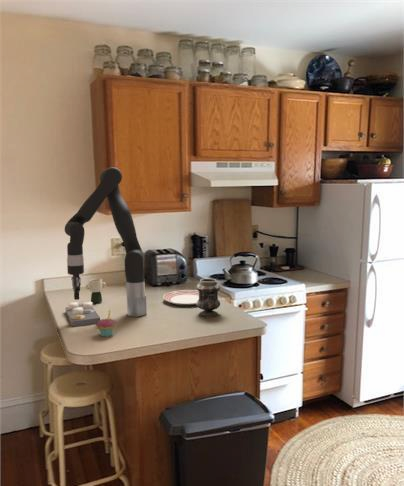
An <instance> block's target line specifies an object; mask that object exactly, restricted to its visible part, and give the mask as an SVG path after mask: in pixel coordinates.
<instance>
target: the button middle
mask: <svg viewBox="0 0 404 486" xmlns="http://www.w3.org/2000/svg"><path fill="white" fill-rule="evenodd" d="M82 305H83V309H91V308H93V309H94V307H93V302H91V301H85V302H82Z"/></svg>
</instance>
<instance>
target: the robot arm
mask: <svg viewBox="0 0 404 486" xmlns="http://www.w3.org/2000/svg"><path fill="white" fill-rule="evenodd" d="M99 180H100V183H99V184H98V186H97V187H96V189H94V191H92V193H91V194H90V195H89V196H88V197H87V199H85V201H84V202H83V204H82V205H81V207H80V208H79V209H78V211H77V212H76V213H75V214H74V215H73V216H71V218H70V219H68V221H67V222H66V224H65V225H64V233H65V235H67V236H69V242H68V243H67V246H66V249H67V250H66V251H67V255H66V256H67V257H66V265H67V268H66V269H67V275H69V276H71V279H70V280H71V285H72V289H73V290H72V292H73V298H74V300H80V291H81V285H82V283H81V281H82V278H81V277H80V275H83V274H84V273H85V268H84V267H85V266H84V265H85V263H84V262H85V261H84V260H85V259H84V252H83V251H84V250H83V244H84V240H85V227H84V225H85V224H86V223H88V222H90V221H91V220H92V218H93V216H95V214H96V213H97V211H98V210H99V208H100V206H101V205H102V204H103V202H104V201H105V200H106V198H107V202H108V205H109V209H110V212H111V216H112V220H113V223H114V226H115V229H116V230H117V233H118V235H119V236H120V238H121V239H122V242H123V245H124V248H125V257H124V276H125V281H126V282H125V285H126V287H125V288H126V312H127V316H128V317H137V318H138V317H141V316H145V315H147V312H148V311H147V309H148V308H147V307H148V306H147V296H146V291H145V281H146V280H145V279H146V278H145V273H144V262H145V255H144V252H143V249H142V248H141V244H140V242H139V240H138V236H137V231H136V227H135V223H134V219H133V216H132V212H131V210H130V208H129V206H128V204H127V203H126V201H125V199H124V197H123V195H122V194H121V191H120V186H119V185H120V183H121V182H122V180H123V175H122V171H121V170H120V168H119V169H118V167H113V166H112V167H108V168H106V169H104V170H103V171H102V172H101V173H100V176H99Z"/></svg>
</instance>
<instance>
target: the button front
mask: <svg viewBox="0 0 404 486" xmlns="http://www.w3.org/2000/svg"><path fill="white" fill-rule="evenodd" d="M81 314H83V308H82V307H76V308H73V315H81Z"/></svg>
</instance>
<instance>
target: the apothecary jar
mask: <svg viewBox="0 0 404 486" xmlns="http://www.w3.org/2000/svg"><path fill="white" fill-rule="evenodd" d="M220 289H221V286H220V284H218V282H217V279H215V278H207V277H205V278H201V279H200V280H199V283H198V284H197V285H196V290H197V291H199V300H198V301H197V303H196V305H195V306H197V308H199V309H200V310H202V311H200V312H199V313H198V316H200V317H201V318H215V317H216V316H218V315H219V312H218V311H215V310H217V309H218V308H219V307H220V306H221V301H220V300H219V297H218V296H219V295H218V292H219V290H220Z"/></svg>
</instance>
